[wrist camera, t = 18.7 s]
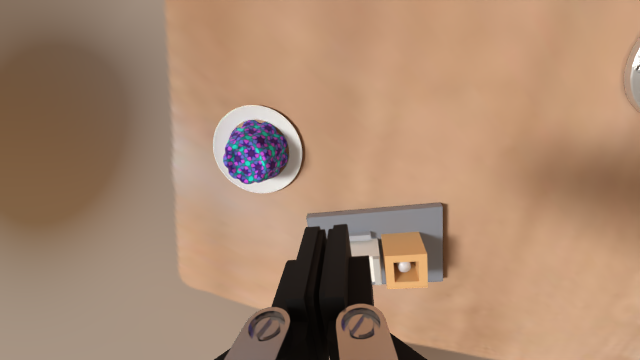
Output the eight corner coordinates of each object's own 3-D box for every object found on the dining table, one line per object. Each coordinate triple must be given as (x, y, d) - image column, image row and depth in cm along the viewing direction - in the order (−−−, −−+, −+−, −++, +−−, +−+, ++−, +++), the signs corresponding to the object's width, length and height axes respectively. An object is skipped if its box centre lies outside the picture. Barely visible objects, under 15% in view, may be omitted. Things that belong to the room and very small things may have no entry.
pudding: (317, 175, 40) (312, 191, 36) (240, 201, 43) (226, 219, 38) (280, 89, 37) (269, 94, 32) (199, 124, 39) (177, 133, 35)
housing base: (440, 202, 40) (452, 222, 35) (440, 275, 44) (451, 302, 39) (307, 213, 42) (301, 233, 38) (320, 281, 47) (316, 307, 42)
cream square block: (377, 238, 41) (380, 258, 37) (379, 262, 43) (382, 284, 38) (348, 240, 42) (347, 260, 38) (351, 263, 43) (351, 286, 39)
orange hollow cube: (418, 231, 40) (427, 253, 36) (419, 262, 42) (427, 287, 37) (381, 234, 41) (384, 256, 36) (383, 264, 43) (387, 288, 38)
